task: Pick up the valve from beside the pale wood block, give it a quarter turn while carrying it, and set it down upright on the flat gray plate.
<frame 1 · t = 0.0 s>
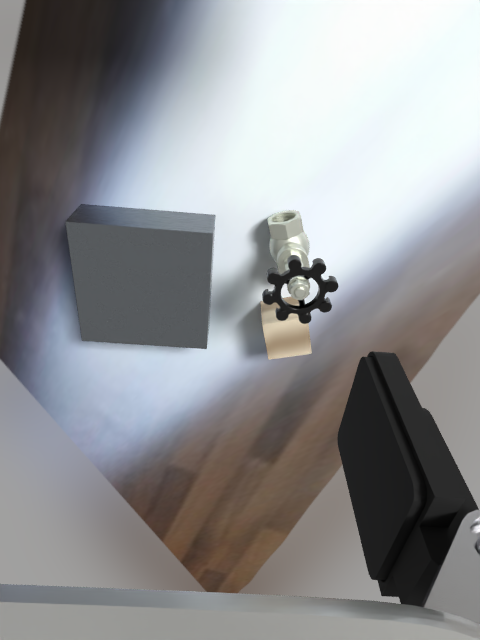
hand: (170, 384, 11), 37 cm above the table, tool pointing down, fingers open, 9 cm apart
valve: (287, 237, 48), on the table
pale wood block: (283, 315, 54), on the table
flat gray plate: (150, 269, 50), on the table
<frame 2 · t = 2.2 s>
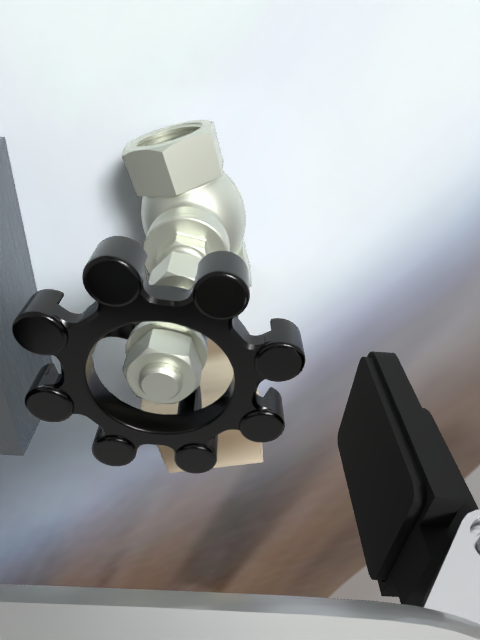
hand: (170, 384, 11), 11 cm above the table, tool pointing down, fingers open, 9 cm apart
valve: (198, 198, 20), on the table
pale wood block: (210, 368, 26), on the table
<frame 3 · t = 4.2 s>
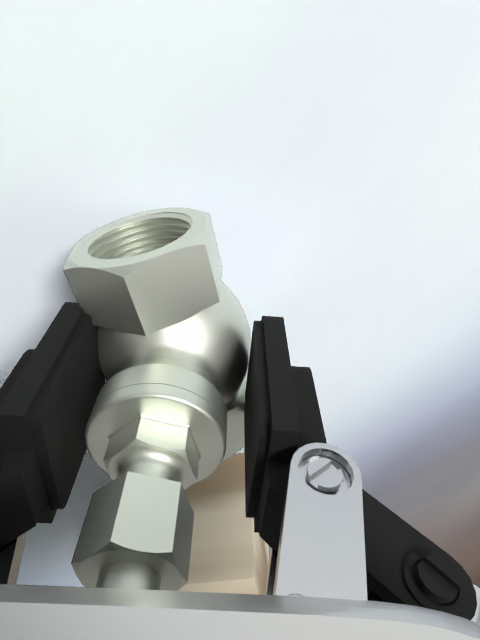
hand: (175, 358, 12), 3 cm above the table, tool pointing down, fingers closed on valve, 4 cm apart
valve: (184, 301, 14), on the table, touching gripper
pale wood block: (203, 494, 20), on the table
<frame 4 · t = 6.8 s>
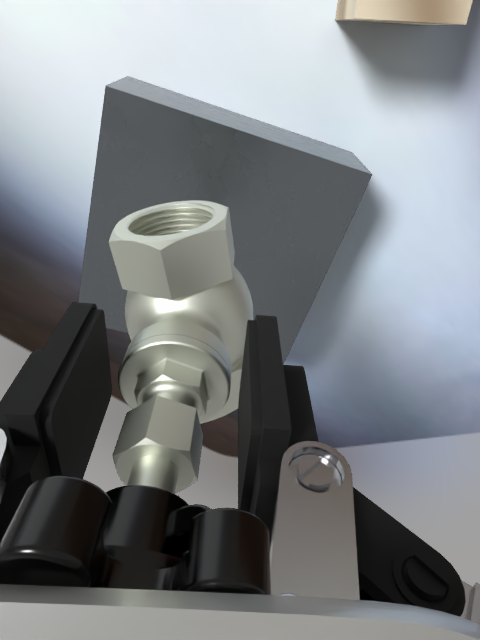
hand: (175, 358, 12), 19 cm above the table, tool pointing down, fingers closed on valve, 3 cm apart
valve: (197, 281, 17), point 14 cm above the table, touching gripper
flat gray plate: (213, 223, 30), on the table
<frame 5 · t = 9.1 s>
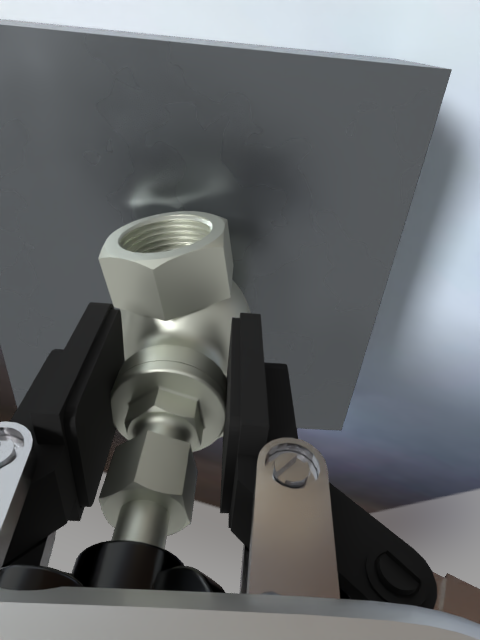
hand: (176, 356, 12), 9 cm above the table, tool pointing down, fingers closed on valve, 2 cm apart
valve: (195, 293, 16), point 5 cm above the table, touching gripper, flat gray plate
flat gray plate: (196, 226, 19), on the table
when the fingers open (9 cm above the table, at t = 9.2 s): valve stays where it is, resting on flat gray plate.
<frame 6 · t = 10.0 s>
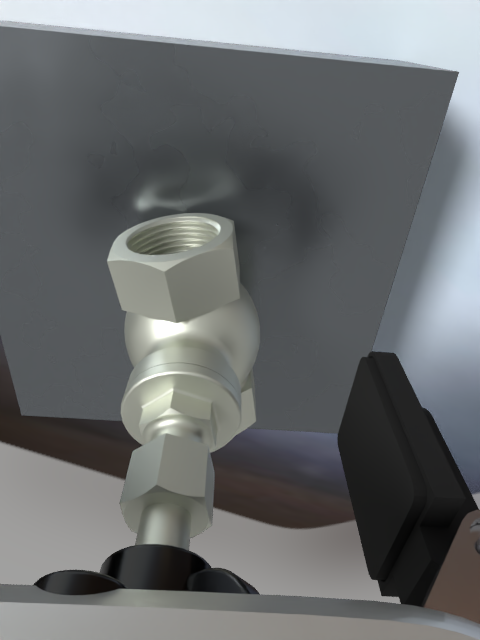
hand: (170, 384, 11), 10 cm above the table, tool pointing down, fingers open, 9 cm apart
valve: (199, 296, 16), point 5 cm above the table, touching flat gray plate
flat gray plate: (200, 228, 19), on the table
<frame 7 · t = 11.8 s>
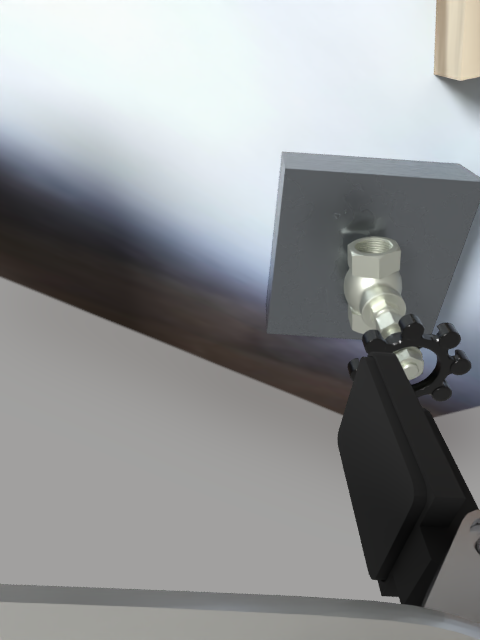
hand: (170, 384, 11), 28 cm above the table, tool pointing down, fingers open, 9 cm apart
valve: (366, 272, 35), point 5 cm above the table, touching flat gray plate
pale wood block: (473, 24, 30), on the table
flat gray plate: (353, 240, 38), on the table
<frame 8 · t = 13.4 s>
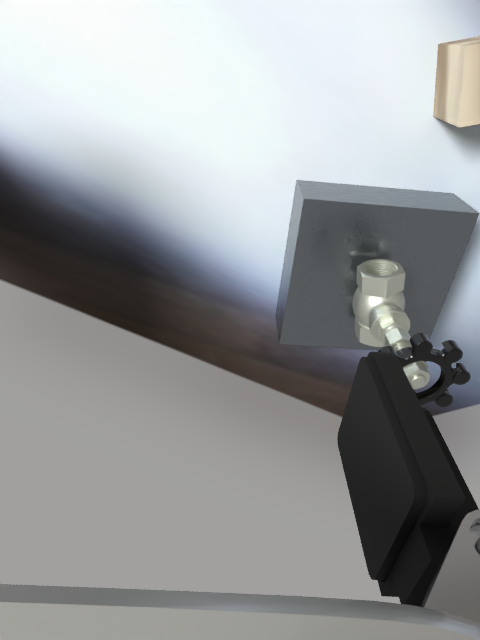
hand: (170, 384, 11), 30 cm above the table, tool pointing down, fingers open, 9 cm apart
valve: (371, 289, 39), point 5 cm above the table, touching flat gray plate
pale wood block: (468, 75, 34), on the table
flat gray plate: (357, 259, 42), on the table
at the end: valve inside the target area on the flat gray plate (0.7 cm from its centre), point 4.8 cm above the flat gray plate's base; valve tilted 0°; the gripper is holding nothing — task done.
